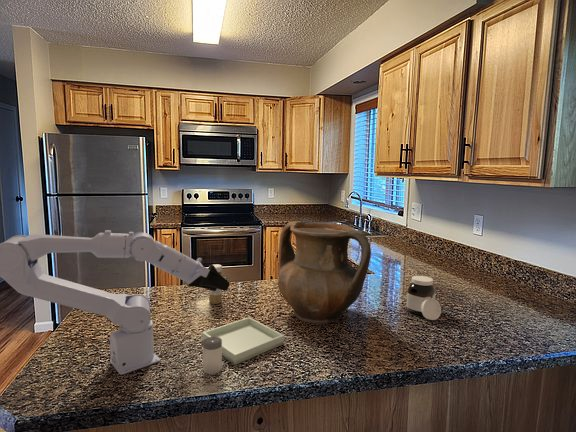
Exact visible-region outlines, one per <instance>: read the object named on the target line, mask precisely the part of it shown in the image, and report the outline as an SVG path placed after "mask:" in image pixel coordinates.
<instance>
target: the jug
mask: <svg viewBox="0 0 576 432" xmlns="http://www.w3.org/2000/svg"><path fill="white" fill-rule="evenodd" d="M280 232H281V233H280V235H279V242H278V243H279V245H278V279H277V286H278V287H277V288H278V291H279V293H280V294H281V296H282V297H283V299H284V300H285V301H286V302H287V304H288V305H289V307H291V309H292V310H293V315H294V316H295V317H296V318H297V319H299V320H300V321H301V322H304V323H309V324H321V325H323V324H325V325H326V324H331V323H334V322H338V321H339V320H340V319H341V318H342V316H343V313H344V312H345V311H347V310H348V308H350V307H351V306H352V305H353V304H354V303H355V302H356V300H357V299H358V298H359V296H360V295H361V293H362V290H363V288H364V284H365V283H364V282H365V280H366V277H367V275H368V270H369V266H370V263H371V262H370V261H371V255H372V249H371V244H370V241H369V240H368V238H367V236H366V235H365V234H364V233H363V232H361V231H360V230H359V229H358V230H357V229H356V228H354V227H351V226H350V225H347V224H339V223H334V222H333V223H332V222H303V221H291V222H287V224H285V225H284V226H283V228H282V230H281V231H280ZM292 234H293V236H295V250H294V248H293V247H294V246H292V243H291V239H292V238H291V235H292ZM350 239H351V240H355V241H356V242H357V243H358V244H359V246H360V248H361V257H360V262H359V264H358V267H357V269H356V268H355V267H354V266H352V264H351V263H349V260H348V257H349V254H348V250H349V247H348V246H349V242H350Z"/></svg>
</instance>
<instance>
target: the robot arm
mask: <svg viewBox="0 0 576 432" xmlns="http://www.w3.org/2000/svg"><path fill="white" fill-rule="evenodd" d="M52 253H53V254H59V253H60V254H61V253H62V254H63V253H64V254H65V253H66V254H67V253H91V254H93V255H94V256H95V257H96V258H98V259H99V258H100V259H101V258H103V259H110V258H111V259H124V258H125V259H128V258H131V257H132V258H134V260H135V261H138V262H147V263H149V264H151V265H152V266H154V267H155V268H157V269H159V270H162V271H163V272H165V273H168V274H169V275H171V276H173V277H175V278H177V279H179V280H180V281H181V280H182V281H184V282H185V284H188V287H190V288H191V287H194V288H202V289H205V290H208V291H209V290H211V291H216V289H220V290H222V291H224V292H225V291H226V292H227V291H228V289H229V287H230V285H231V283H230V281H228V280H227V279H226V278H225V277H224V276H222V274H221V275H220V274H219V273H218V271H217V270H216V268H215V267H214V266H213V264H209V266H208V268H207V267H205V266H203V264H202V263H201V262H202V261H203V258H202V257H198V258H196V260H195V259H193V258H191V257H190V256H188V255H186V254H184V253H182V252H181V251H178V250H177V249H174V248H173V247H171V246H169V245H167V244H164V243H162V242H160V241H158V240H155V239H154V238H153V236H152V235H151V234H149V233H147V232H143V231H138V232H134V231H129V232H128V233H119V232H117V233H116V232H115V233H114V232H112V230H111V229H110V230H109V229H108V230H107V229H105V230H104V232H98V233H97V234H96V235H95V236H93V237H85V236H84V237H83V236H69V235H54V234H53V235H52V234H37V233H36V234H34V233H33V234H29V235H24V234H18V235H13V236H11V237H9V238H8V239H7V240H5V241H3V242H1V243H0V278H2V280H3V281H5V282H6V283H7V284H8V285H9V286H10V287H11V288H13V290H15V291H16V292H17V293H19V294H21V295H23V296H27V297H31V298H35V299H39V300H41V301H42V300H43V301H45V302H50V303H53V304H58V305H61V306H64V307H65V306H66V307H69V308H73V309H77V310H79V311H80V310H81V311H84V312H89V313H93V314H96V315H99V316H100V315H101V316H105V317H107V319H109V321H111V322H112V323H113V324H115V325H118V326H120V328H119V329H117V330H116V331H112V333H110V335H109V350H110V360H109V361H110V363H111V365H112V367H114V370H116V371H117V373H118V375H121V376H122V375H125V374H128V373H130V372H133V371H137V370H139V369H142V368H145V367H148V366H150V365H154V364H156V363H159V362H160V361H161V358H160V357H159V356H158V355H157V354H156V353H155V347H154V322H153V320H152V316H151V309H150V308H151V302H150V300H149V298H148V297H147V296H145V295H144V294H139V293H137V294H128V293H112V292H109V291H106V290H101V289H98V288H94V287H91V286H87V285H84V284H81V283H76V282H73V281H70V280H67V279H63V278H60V277H56V276H52V275H49V274H45V273H44V272H43V269H42V268H41V266H40V265H41V264H40V263H39V260H38V259H40V258H43V257H44V256H46V255H47V254H52Z"/></svg>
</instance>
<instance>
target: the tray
mask: <svg viewBox="0 0 576 432" xmlns="http://www.w3.org/2000/svg"><path fill="white" fill-rule="evenodd" d="M201 334H202V335H201V337H202V339H201V340H202V342H203V340H204V339H206V338H209V337H219V338H221V339H222V357H224V358H225V359H226V360H228V361H229V362H231V363H232V364H233V365H238V364H240V363H242V362H245V361H247V360H249V359H252V358H254V357H257V356H259V355H261V354H264V353H266V352H268V351H271V350H273V349H276V348H277V347H280V346H282V345H283V346H284V344H285V335H284V334H282V333H281V332H278V331H277V330H274V329H273V328H271V327H269V326H267V325H265V324H263V323H261V322H259V321H257V320H256V319H255V318H252V317H250V316H249V317H245V318H243V319H239V320H236V321H233V322H230V323H227V324H225V325H224V324H223V325H221V326H218V327H214V328H211V329H209V330H205V331H203V332H201Z"/></svg>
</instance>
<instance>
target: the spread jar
mask: <svg viewBox="0 0 576 432" xmlns="http://www.w3.org/2000/svg"><path fill="white" fill-rule="evenodd" d="M407 288H408V289H407V293H406V308H407V310H408V311H409V312H410V313H412V314H414V315H417V316H423V317H424V319H427V320H430V321H436V320H438V319H439V317H440V316H441V313H442V307H441V304H440V302H439V301H438V300H437V299H436V291H437V290H436V287H435V286H434V278H432V277H430V276H426V275H414V276H412V277H411V283H410V284H409V286H408V287H407Z"/></svg>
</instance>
